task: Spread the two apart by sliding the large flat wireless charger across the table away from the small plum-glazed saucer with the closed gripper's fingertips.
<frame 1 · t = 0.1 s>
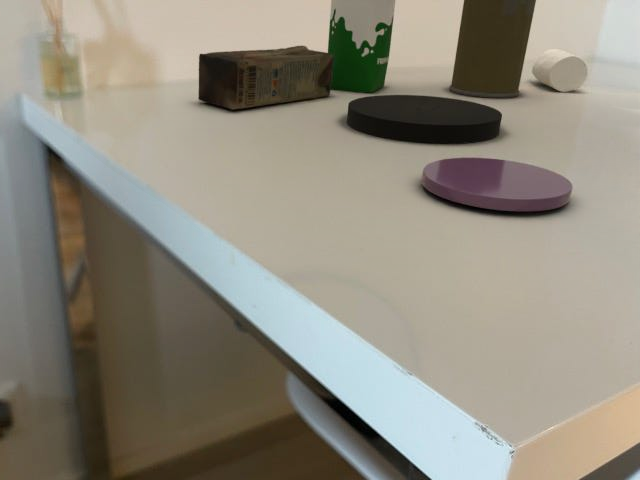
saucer: (492, 192, 56), on the table
wireless charger: (421, 127, 80), on the table
beverage carton: (267, 101, 92), on the table
milk carton: (355, 88, 103), on the table
roll: (550, 86, 110), on the table
canister: (484, 93, 102), on the table
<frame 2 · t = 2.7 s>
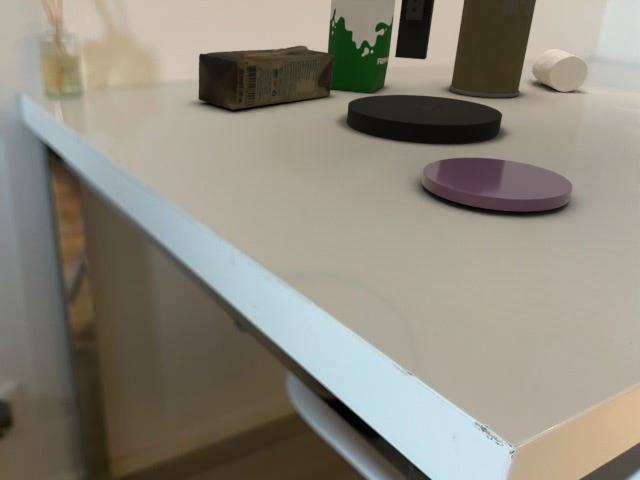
hand: (410, 57, 62), 9 cm above the table, tool pointing down, fingers closed
nothing on the table moved.
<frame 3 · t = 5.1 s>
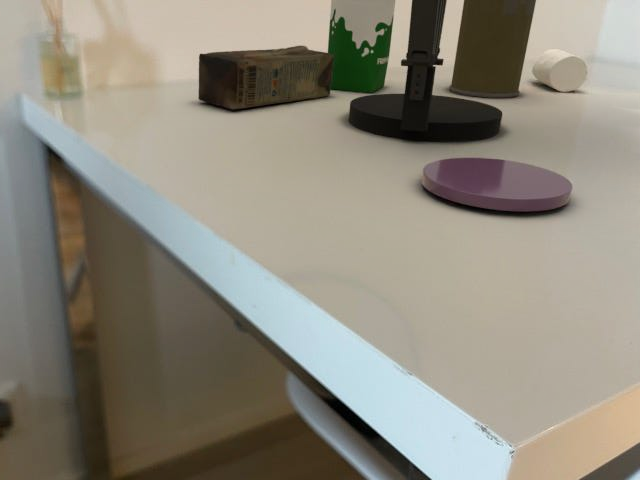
hand: (413, 129, 72), 1 cm above the table, tool pointing down, fingers closed
wireless charger: (422, 125, 80), on the table, touching gripper
everything else where it was.
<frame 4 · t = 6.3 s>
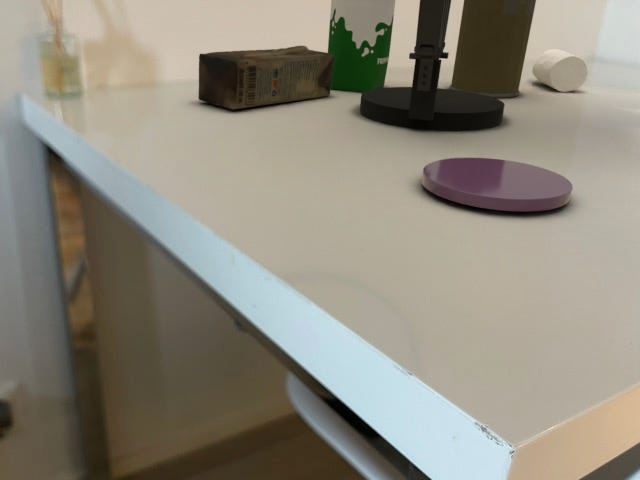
hand: (420, 118, 77), 1 cm above the table, tool pointing down, fingers closed
wireless charger: (429, 116, 85), on the table, touching gripper
everything else where it was.
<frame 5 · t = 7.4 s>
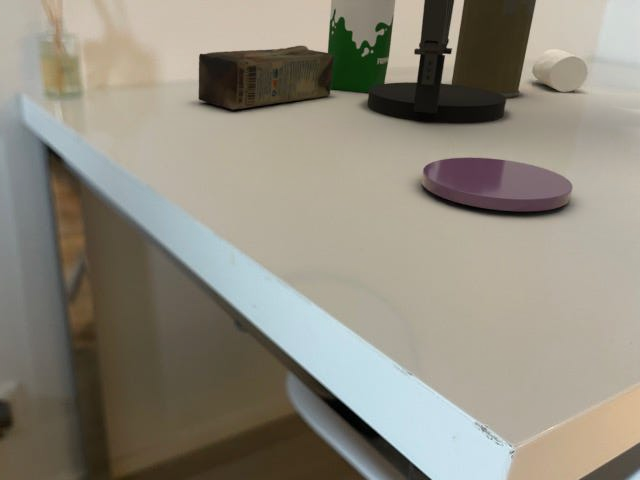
hand: (425, 111, 80), 1 cm above the table, tool pointing down, fingers closed
wireless charger: (433, 109, 89), on the table, touching gripper
everything else where it was.
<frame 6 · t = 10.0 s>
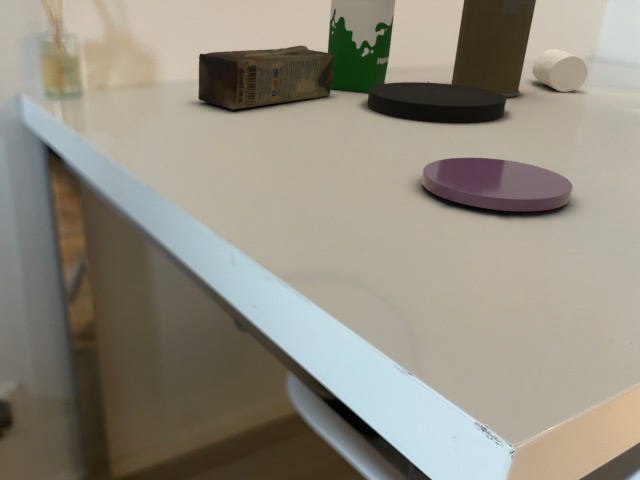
wireless charger: (433, 109, 89), on the table
everything else where it was.
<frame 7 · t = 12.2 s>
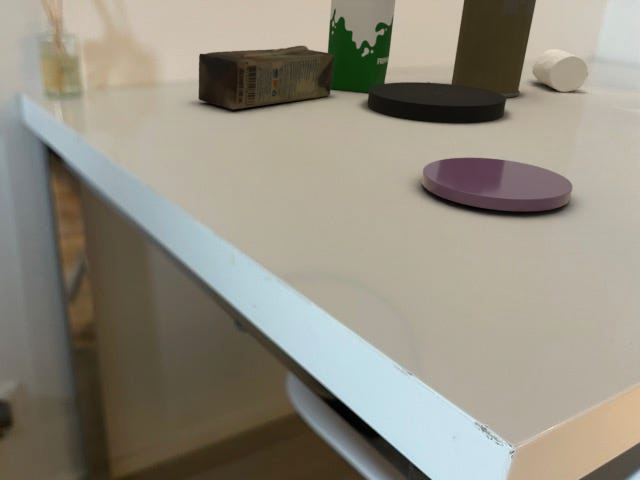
nothing on the table moved.
at the end: wireless charger moved 11.5 cm from its start; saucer moved 0.1 cm from its start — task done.
